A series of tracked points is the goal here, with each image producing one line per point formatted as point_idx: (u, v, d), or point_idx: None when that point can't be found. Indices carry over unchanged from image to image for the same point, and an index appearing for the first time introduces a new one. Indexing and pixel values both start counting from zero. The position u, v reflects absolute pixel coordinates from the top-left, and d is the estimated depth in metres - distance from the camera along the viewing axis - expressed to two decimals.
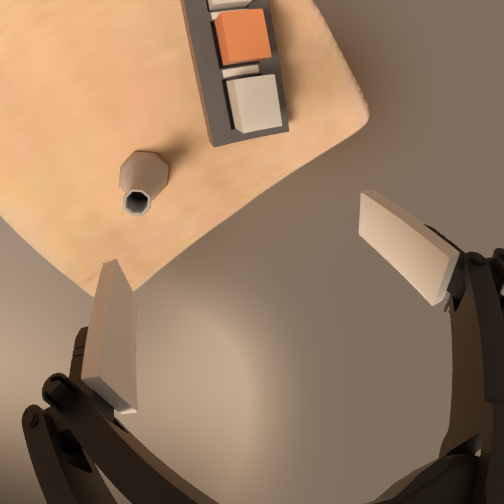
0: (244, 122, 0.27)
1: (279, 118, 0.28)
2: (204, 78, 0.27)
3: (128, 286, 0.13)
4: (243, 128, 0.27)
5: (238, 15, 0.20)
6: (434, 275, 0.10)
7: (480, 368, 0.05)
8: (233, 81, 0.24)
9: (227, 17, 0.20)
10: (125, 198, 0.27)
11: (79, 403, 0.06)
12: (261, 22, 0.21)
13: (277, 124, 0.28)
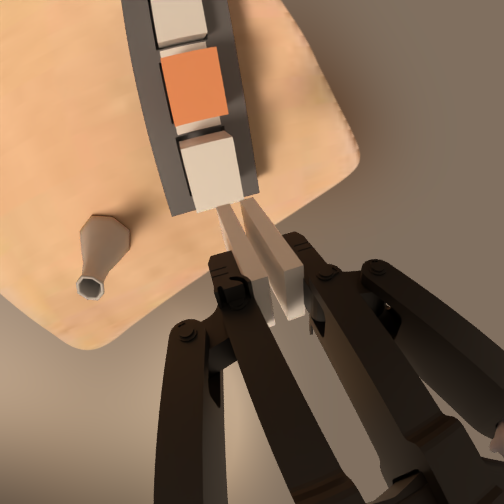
0: (196, 200, 0.24)
1: (240, 192, 0.25)
2: (154, 137, 0.24)
3: None
4: (196, 207, 0.24)
5: (183, 60, 0.17)
6: (282, 288, 0.11)
7: (383, 406, 0.05)
8: (181, 150, 0.21)
9: (169, 64, 0.17)
10: (78, 284, 0.24)
11: (248, 309, 0.09)
12: (214, 66, 0.18)
13: (238, 199, 0.25)
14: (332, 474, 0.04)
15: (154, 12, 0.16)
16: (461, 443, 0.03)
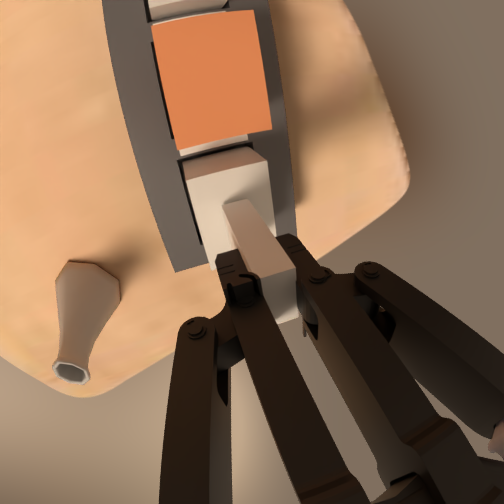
0: (210, 254, 0.17)
1: None
2: (144, 160, 0.16)
3: None
4: (210, 263, 0.17)
5: (194, 29, 0.08)
6: None
7: (378, 409, 0.05)
8: (186, 181, 0.14)
9: (167, 37, 0.08)
10: (54, 369, 0.15)
11: (257, 306, 0.09)
12: (250, 43, 0.09)
13: None
14: (337, 472, 0.04)
15: None
16: (458, 445, 0.03)
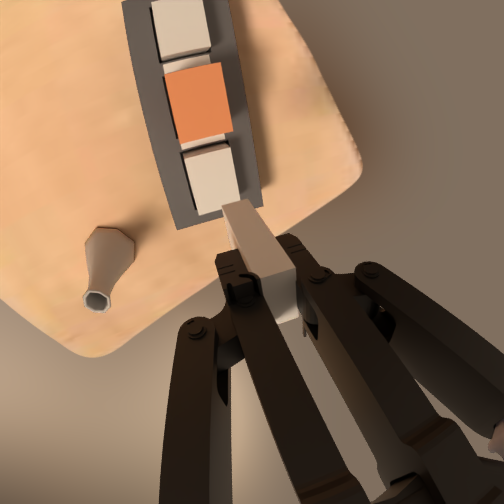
0: (198, 204, 0.27)
1: (237, 196, 0.28)
2: (159, 152, 0.25)
3: None
4: (198, 210, 0.27)
5: (187, 76, 0.18)
6: None
7: (378, 409, 0.05)
8: None
9: (173, 81, 0.18)
10: (84, 298, 0.24)
11: (257, 306, 0.09)
12: (219, 83, 0.19)
13: None
14: (337, 472, 0.04)
15: (157, 25, 0.16)
16: (458, 445, 0.03)
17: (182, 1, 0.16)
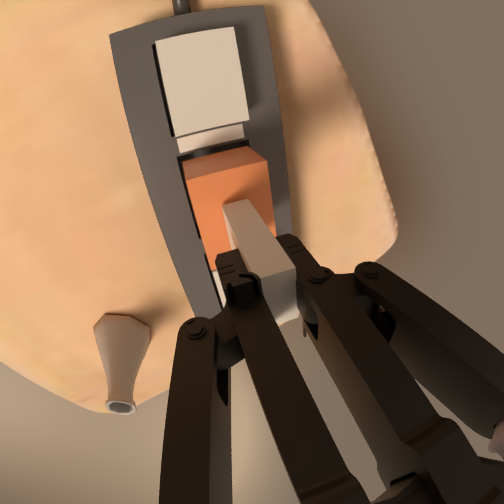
0: None
1: None
2: (177, 254, 0.21)
3: None
4: None
5: (220, 183, 0.14)
6: None
7: (378, 409, 0.05)
8: (212, 271, 0.21)
9: (199, 190, 0.14)
10: (107, 405, 0.21)
11: (257, 306, 0.09)
12: (263, 191, 0.15)
13: None
14: (337, 472, 0.04)
15: (166, 82, 0.13)
16: (458, 445, 0.03)
17: (205, 41, 0.12)
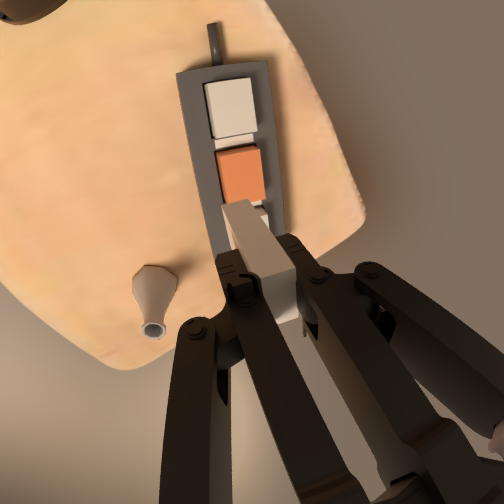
0: None
1: None
2: (208, 213, 0.33)
3: None
4: None
5: (236, 159, 0.29)
6: None
7: (378, 409, 0.05)
8: None
9: (226, 162, 0.29)
10: (143, 328, 0.32)
11: (257, 306, 0.09)
12: (257, 164, 0.30)
13: None
14: (337, 472, 0.04)
15: (213, 107, 0.25)
16: (458, 445, 0.03)
17: (234, 86, 0.24)
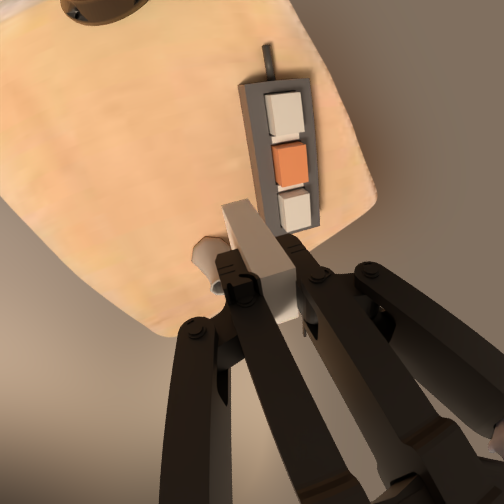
0: (287, 226, 0.45)
1: (309, 221, 0.46)
2: (264, 192, 0.43)
3: None
4: (287, 229, 0.45)
5: (289, 151, 0.38)
6: None
7: (378, 409, 0.05)
8: (283, 199, 0.43)
9: (282, 153, 0.38)
10: (212, 285, 0.43)
11: (257, 306, 0.09)
12: (304, 156, 0.39)
13: (308, 225, 0.46)
14: (337, 472, 0.04)
15: (274, 113, 0.35)
16: (458, 445, 0.03)
17: (289, 98, 0.34)
